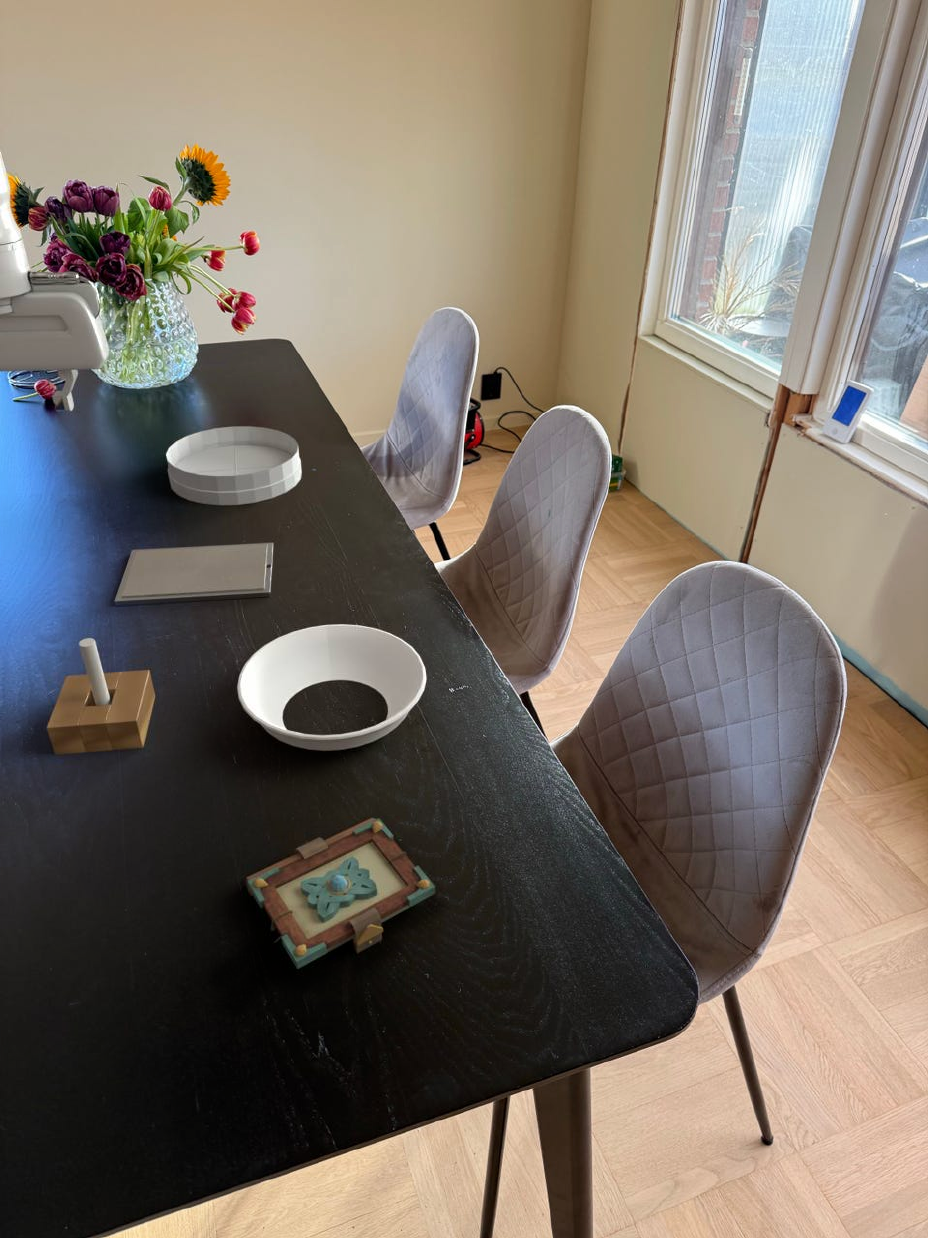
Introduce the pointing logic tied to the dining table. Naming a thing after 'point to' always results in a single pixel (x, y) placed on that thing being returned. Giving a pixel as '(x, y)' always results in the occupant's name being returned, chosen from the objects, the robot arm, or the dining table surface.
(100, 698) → the stylus
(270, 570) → the tablet
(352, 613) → the dining table surface
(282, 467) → the dish
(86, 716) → the holder
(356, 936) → the decorative book
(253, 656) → the white flared ring
